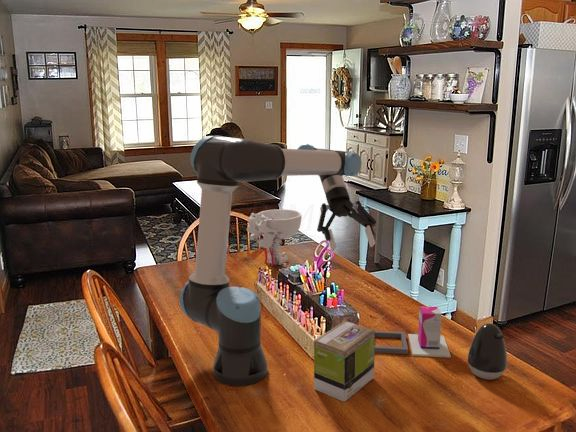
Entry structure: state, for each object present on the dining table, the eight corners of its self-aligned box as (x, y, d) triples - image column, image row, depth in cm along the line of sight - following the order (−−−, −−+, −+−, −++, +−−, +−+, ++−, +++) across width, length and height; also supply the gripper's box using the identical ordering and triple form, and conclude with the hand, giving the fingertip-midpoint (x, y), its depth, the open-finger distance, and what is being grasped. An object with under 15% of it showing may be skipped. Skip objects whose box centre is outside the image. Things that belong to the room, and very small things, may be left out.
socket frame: (407, 354, 159) (408, 349, 158) (369, 352, 160) (369, 347, 159) (404, 336, 170) (404, 332, 169) (368, 334, 171) (368, 330, 170)
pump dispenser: (481, 387, 141) (486, 335, 137) (459, 367, 151) (463, 318, 147) (514, 381, 144) (519, 330, 140) (490, 363, 154) (495, 314, 150)
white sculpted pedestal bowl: (285, 254, 251) (285, 207, 245) (309, 265, 235) (310, 215, 230) (239, 264, 237) (238, 214, 231) (261, 276, 222) (260, 223, 216)
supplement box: (436, 340, 166) (438, 306, 163) (439, 349, 160) (442, 314, 157) (417, 339, 166) (419, 305, 163) (420, 348, 161) (422, 313, 158)
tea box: (344, 366, 152) (345, 319, 148) (374, 378, 146) (376, 329, 142) (312, 389, 140) (313, 338, 137) (344, 403, 134) (345, 350, 131)
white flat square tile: (450, 357, 156) (450, 355, 156) (412, 355, 158) (412, 353, 157) (443, 337, 169) (443, 335, 169) (408, 335, 170) (408, 333, 170)
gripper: (365, 195, 187) (384, 248, 177) (298, 200, 179) (314, 256, 169) (373, 183, 180) (393, 237, 170) (304, 187, 173) (320, 245, 163)
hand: (353, 247), depth 170 cm, fingers open, 13 cm apart
